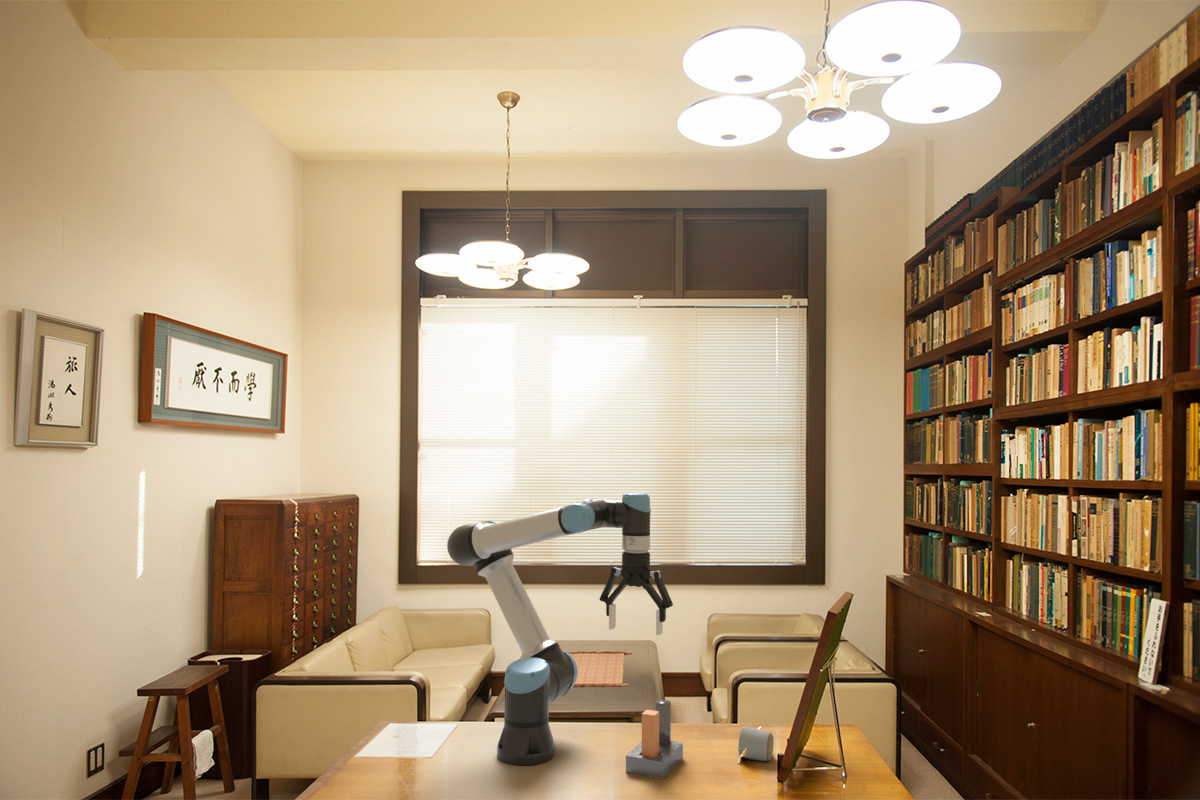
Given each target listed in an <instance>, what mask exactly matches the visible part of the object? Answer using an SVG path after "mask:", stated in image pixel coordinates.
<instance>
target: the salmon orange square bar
mask: <svg viewBox="0 0 1200 800" xmlns="http://www.w3.org/2000/svg"><path fill="white" fill-rule="evenodd" d="M641 742H642V756H647V757H653V758H657V757H658V756H659V711H656V710H651V709H646V710H644V711H643V712H642V713H641Z"/></svg>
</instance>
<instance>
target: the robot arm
mask: <svg viewBox="0 0 1200 800" xmlns="http://www.w3.org/2000/svg"><path fill="white" fill-rule="evenodd" d="M621 498H622V499H601V498H586V499H584V500H583V501H582V502H581V501H577V502H572V503H570V504H568V505H565V506H560V507H556V508H551V509H549V510H548V509H547V510H545V511H541V512H537V513H536V512H535V513H532V514H527V515H525V516H521V517H517V518H513V519H509V520H505V521H502V522H501V521H500V522H498V521H495V520H494V521H490V520H487V521H486V520H485V521H481V522H477V523H469V524H464V525H461V526H458V527H456V528H454V530H453V531H452V532H451V533H450V535H449V537H448V539H447V544H446V547H447V552H448V555H449V557H450V558H451V560H452V561H453V562H455V563H456V564H458V565H460V566H464V567H472V566H473V567H474V570H475V571H476V573H477V576H480V577H483V578H485V580H486V581H487V584H488V586H489V587H490V590H491V592H492V594H493V596H494V598H495V600H496V603H498V606H499V607H500V611H501V613H502V614H503V616H504V619H505V621H506V622H507V625H508V626H509V629H510V631H511V633H512V635H513V636H514V639H515V641H516V644H517V645H518V647H519V649H520V651H521V659H517V660H514V661H512V662H511V663H509V665H507V667H506V669H505V672H504V673H505V675H504V681H503V683H504V721H503V724H504V725H503V728H502V731H501V733H500V736H499V740H498V743H497V746H496V747H497V748H496V749H497V750H496V751H497V752H496V756H497V759H499V760H500V761H502V762H504V763H506V764H509V765H515V766H533V765H539V764H542V763H543V764H544V763H546V762H548V761H550V760H551V759H553V758H554V757H555V755H556V743H555V741H554V737H553V733H552V730H551V727H550V726H551V725H550V723H549V722H550V721H549V719H550V717H549V715H550V714H549V713H550V709H549V708H550V704H552V702H554V701H557V699H560V698H562V697H563V696H566V694H568V693H569V691H570V690H572V689H573V687H574V686H575V684H576V682H577V678H578V666H577V663H576V661H575V659H574V657H573V655H571V654H570V653H569V652H566V651H565V650H562V648H561V647H560V644H559V642H558V641H557V640H555V639H554V640H553V639H551V638H550V637H549V635H548V632H547V631H546V629H545V627H544V625H543V622H542V621H541V619H540V617H539V614H538V612H537V611H536V609H535V606H534V605H533V602H532V601H531V598H530V597H529V596H530V595H529V594H528V593H527V591H526V588H525V587H524V584H523V583H522V581H521V579H520V577H519V575H518V573H517V571H516V569H515V567H514V565H513V562H514V558H515V554H514V552H513V551H512V550H513V549H515V548H516V549H517V548H520V547H523V546H527V545H532V544H536V543H541V542H545V541H548V540H552V539H553V540H554V539H557V538H561V537H566V536H570V535H575V534H579V533H584V532H587V531H591V530H597V529H601V528H617V529H622V530H621V532H622V533H621V535H622V536H621V537H622V542H621V549H622V550H623V551H622V553H621V566H622V567H621V568H619V567H618V566H615V567H611V569H610V575H609V578H608V580H607V582H606V584H605V586H604V588H603V590H602V593H601V595H600V596H599V601H600V602H603V603H605V605H606V606H605V607H606V609H605V610H606V611H605V615H606V617H608V630H611V631H612V630H613V629H616V627H617V626H616V625H617V623H616V622H617V621H616V620H617V616H616V615H617V613H616V611H617V610H616V609H617V603H614V601H616V599H617V598H618V596H619V595H620V594H621V593H623V592H622V591H624V590H625V588H626V587H627V586H628V587H636V588H637V587H638V588H641V587H642V588H643V589H644V590H645V591H646V592H647V594H648V595H649V596H650V598H651V599H652V601H653V602H654V603H655V605H656V606H657V609H656V610H655V635H656V636H659V635H661V634H663V623H664V622H666V620H667V619H666V618H667V616H666V615H667V612H666V611H667V609H669V608H671V607H673V605H674V603H673V601H672V598H671V596H670V593H669V592H668V590H667V587H666V585H665V583H664V580H663V576H662V571H661V570H660V569H659V570H656V571H651V567H650V566H651V553H650V552H649V551H650V549H651V513H652V512H651V511H652V509H651V498H650V496H649V494H647V493H642V492H627V493H623V495H622V497H621ZM620 575H621V577H622V580H621V581H620V582H619V584H618V586H617V587H616V588H614V590H613V592H612V589H613V587H614V585H615V584H616V581H617V579H618V577H619V576H620ZM650 578H652V579H653V580H654V584H655V585H656V589H657V590H658V591H657V590H656V589H655V587H654V586H653V583H652V582H651V580H650ZM611 592H612V593H611Z"/></svg>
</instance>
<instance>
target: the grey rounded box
mask: <svg viewBox="0 0 1200 800" xmlns="http://www.w3.org/2000/svg"><path fill="white" fill-rule="evenodd" d="M745 748H747V750H746V758H745V759H747V758H748V760H753V761H754V760H755V761H759V762H760V761H761V762H769V761H771V760H772V757H773V753H774V735H773V733H771V732H769V731H767V730H762V729H759V728H753V727H749V726H745V725H743V726H742V727H741V729H740V731H739V737H738V756H739V757H740V755H741V754H742V753H743V751H744V750H745Z"/></svg>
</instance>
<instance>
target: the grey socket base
mask: <svg viewBox="0 0 1200 800" xmlns="http://www.w3.org/2000/svg"><path fill="white" fill-rule="evenodd" d="M671 707H672V702H671V701H670V700H668V699H657V700H656V701H655V711H659V756H658V757H657V758H653V757H647V756H642V741H640V742H639V743H638V744H637V745H636V746H634V748H633V749H632V750H631V751H629V752H628V753H627V754H626V755H625V773H628V774H633V775H638V774H640V775H639V776H643V775H645V777H648V776H652V777H651V778H653V777H658V778H657V779H659V778H663V779H662V780H665V779H666V778H667V777H666V776H668V775H670V773H671V772H672V771H673V770H674V769H675V768H674V767H675V766H678V764H680V762H682V760H683V759H684V757H683V754H684V753H683V752H684V749H683V748H684V747H683V746H684V744H683V743H684V742H680V741H674V740H672V739H671V738H672V733H671V732H672V731H671V729H672V728H671V727H672V723H671V719H672V713H671V712H672V708H671ZM682 758H683V759H682ZM681 759H682V760H681ZM673 768H674V769H673ZM672 769H673V770H672ZM671 770H672V771H671ZM665 777H666V778H665ZM664 778H665V779H664Z"/></svg>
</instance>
